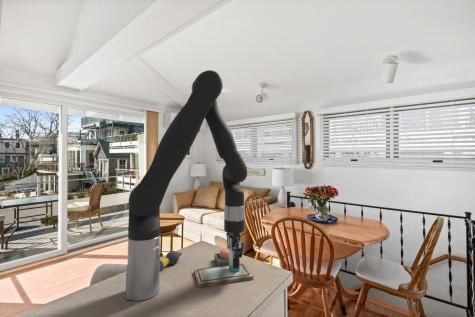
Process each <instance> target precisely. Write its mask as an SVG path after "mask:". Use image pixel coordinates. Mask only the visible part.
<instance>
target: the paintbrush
mask: <svg viewBox="0 0 475 317" xmlns="http://www.w3.org/2000/svg"><path fill="white" fill-rule="evenodd" d="M182 255H183V253H182V252H179V251H177V250H171V251H169V252H167V254H166V257H165V258H162V259H161V258H160V272H161V271H162V270H164V268H166V266H168V265H171V266H172V265H176V264H177V263H178V262H179V260H180V257H181V256H182Z"/></svg>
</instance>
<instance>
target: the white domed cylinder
mask: <svg viewBox="0 0 475 317" xmlns="http://www.w3.org/2000/svg"><path fill="white" fill-rule="evenodd" d="M233 248H235V247H233ZM237 254H238V253H237ZM240 264H241V258H239V268H236V269H234V268H233V251H231V247H229V270H230V271H232V272H237V271H239V270H240Z"/></svg>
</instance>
